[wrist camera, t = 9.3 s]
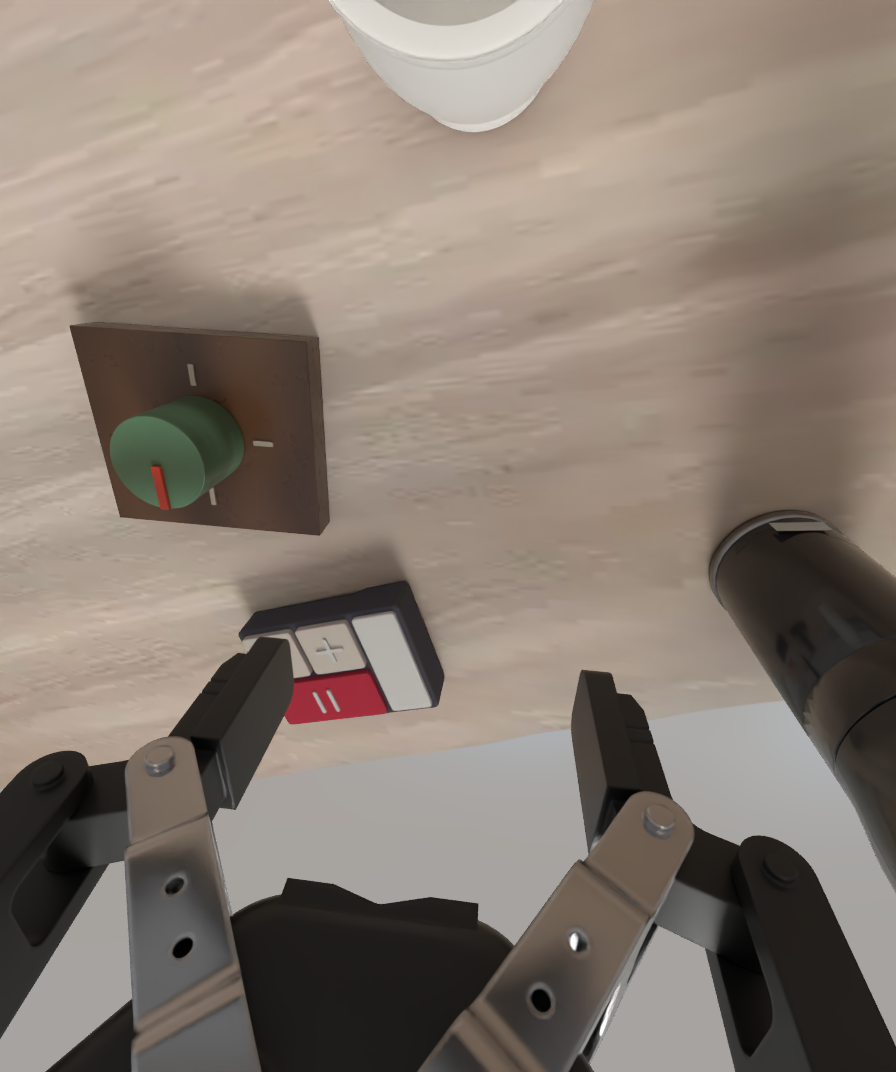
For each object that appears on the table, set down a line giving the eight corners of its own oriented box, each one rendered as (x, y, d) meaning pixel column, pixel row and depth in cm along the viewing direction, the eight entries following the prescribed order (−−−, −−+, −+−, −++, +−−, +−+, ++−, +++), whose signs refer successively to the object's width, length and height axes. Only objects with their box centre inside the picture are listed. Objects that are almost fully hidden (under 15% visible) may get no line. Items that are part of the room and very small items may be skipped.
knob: (153, 393, 36) (94, 413, 30) (237, 398, 35) (192, 420, 30) (171, 475, 38) (120, 507, 33) (249, 481, 38) (210, 514, 33)
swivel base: (318, 337, 35) (305, 341, 33) (329, 521, 42) (319, 536, 39) (95, 322, 36) (66, 325, 34) (139, 504, 43) (118, 518, 40)
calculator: (231, 638, 43) (395, 610, 40) (255, 608, 47) (407, 579, 43) (286, 731, 48) (438, 714, 44) (304, 697, 52) (446, 678, 48)
